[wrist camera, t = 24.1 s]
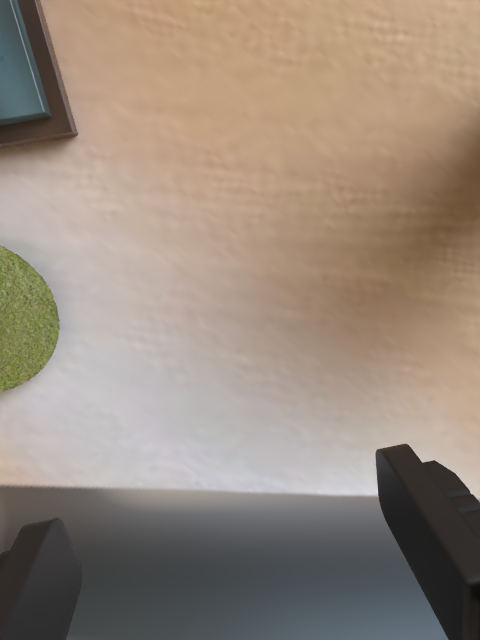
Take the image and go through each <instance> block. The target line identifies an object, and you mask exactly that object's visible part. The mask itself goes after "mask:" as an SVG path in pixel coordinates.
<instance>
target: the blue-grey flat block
mask: <svg viewBox="0 0 480 640" xmlns="http://www.w3.org/2000/svg"><path fill="white" fill-rule="evenodd" d="M76 135H78V133H77V130H76V126H75V123H74V119H73V115H72V112H71V108H70V105H69V101H68V98H67V94H66V91H65V87H64V84H63V80H62V77H61V73H60V69H59V66H58V62H57V59H56V55H55V52H54V48H53V45H52V41H51V38H50V34H49V31H48V27H47V23H46V20H45V16H44V13H43V9H42V6H41V2H40V0H0V149H1V148H7V147H12V146H18V145H24V144H30V143H36V142H41V141H47V140H53V139H59V138H64V137H70V136H76Z"/></svg>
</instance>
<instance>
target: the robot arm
mask: <svg viewBox="0 0 480 640" xmlns="http://www.w3.org/2000/svg"><path fill="white" fill-rule="evenodd" d="M376 468H377V482H378V495H379V501H380V505H381V509H382V512H383V515H384V517H385V520H386V522H387V524H388V526H389V528H390V530H391V531H392V533H393V535H394V537H395V539H396V541H397V543H398V544H399V547H400V549H401V550H402V552H403V554H404V556H405V558H406V560H407V562H408V563H409V566H410V567H411V569H412V571H413V573H414V575H415V577H416V579H417V581H418V583H419V584H420V586H421V588H422V590H423V592H424V594H425V596H426V598H427V600H428V601H429V603H430V605H431V607H432V609H433V611H434V613H435V615H436V617H437V619H438V620H439V622H440V624H441V626H442V628H443V630H444V632H445V634H446V635H447V637H448V639H449V640H480V502H479V501H478V500H477V499H476V498H475V496H474V495H473V494H472V495H471V493H470V491H469V489H468V488H467V487H466V486H465V485H464V483H463V482H462V481H461V480H460V479H459V477H458V476H457V475H456V474H455V473H454V472H452V471H451V470H449V469H447V468H446V467H444V466H443V465H441V464H439V463H438V462H436V461H435V460H434V461H429V462H424V463H422V462H421V460H420V459H419V458H418V456H417V455H416V454H415V452H414V451H413V450H412V449H411V447H410V446H409V445H407V444H401V445H397V446H392V447H387V448H382V449H378V450H376ZM81 581H82V571H81V564H80V560H79V558H78V555H77V553H76V551H75V549H74V547H73V544H72V542H71V540H70V537H69V535H68V533H67V531H66V528H65V526H64V524H63V522H62V520H61V519H60V518H53V519H48V520H43V521H38V522H33V523H29V524H26V525H24V526H23V527H22V529H21V530H20V532H19V534H18V536H17V538H16V540H15V542H14V544H13V546H12V548H11V550H10V551H7V552H3V553H2V554H1V555H0V640H66V637H67V633H68V630H69V627H70V623H71V619H72V616H73V613H74V609H75V606H76V602H77V599H78V595H79V592H80V588H81Z"/></svg>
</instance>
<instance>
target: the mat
mask: <svg viewBox="0 0 480 640" xmlns="http://www.w3.org/2000/svg"><path fill="white" fill-rule="evenodd" d="M58 322H59V317H58V313H57V306H56V303H55V301H54V298H53V295H52V293H51V290H50V289H49V288H48V286H47V284H46V283H45V281H44V280H43V278H42V277H41V276H40V275H39V274H38V273H37V272H36V271H35V269H34V268H33V267H32V266H31V265H30V264H28V263H27V262H26V261H25V260H23V259H22V258H21V257H20V256H18V255H17V254H14V253H13V252H12V251H10V250H8V249H6V248H5V247H1V246H0V391H3V390H4V391H5V390H8V389H11V388H14V387H16V386H18V385H21V384H23V383H24V382H26V381H28V380H30V379H31V378H32V377H34V376H35V375H36V374H37V373H39V372H40V370H41V369H42V368H43V367H44V366H45V365H46V364H47V362H48V360H49V359H50V357H51V356H52V353H53V352H54V349H55V347H56V344H57V340H58V334H59V323H58Z"/></svg>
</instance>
